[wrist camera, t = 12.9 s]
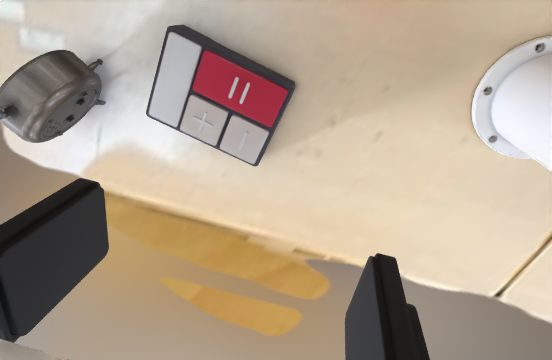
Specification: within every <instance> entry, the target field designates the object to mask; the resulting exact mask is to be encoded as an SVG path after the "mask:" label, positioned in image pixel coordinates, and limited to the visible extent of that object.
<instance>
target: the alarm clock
mask: <svg viewBox="0 0 552 360" xmlns="http://www.w3.org/2000/svg"><path fill="white" fill-rule="evenodd" d="M102 63H103V62H102V60H101V59H98V60H97V61H96V62H93V63H91V64H90V65H89V66H87V65H86V64H85V63H84V62H83V61H82V60H81V59H79V58H78V57H77V56H76V55H75V54H74V53H73V52H71V51H67V50H56V51H51V52H48V53H45V54H43V55H40V56H38V57H36V58H34V59H33V60H31V61H29V62H28V63H26V64H25V65H23V66H22V67H20V68H19V69H18V70H17V71H16V72H14V73H13V74H12V75H11V76H10V77H9V78H8V79H7V80H6V81H5V82H4V83H3V84H2V86H1V87H0V122H1V123H3V124H4V125H5V126H7V127H8V128H9V129H10V130H12V131H13V132H14V133H16V134H17V135H18V136H19V137H21V138H22V139H23V140H25V141H27V142H31V143H41V142H45V141H48V140H51V139H53V138H55V137H57V136H61V135H63V133H64V132H66V131H67V130H68V129H70V128H71V127H72V126H74V125H75V124H76V123H77V122H78V121H79V120H81V119H82V118H83V117H84V116H85V115H86V113H87V112H88V111H89V110H90V109H91V108H92V107H93V106H94V105H104V104H105V103H106V102H105V101H100V100H97V99H98V97H99V94H100V92H101V87H102V86H101V80H100V77H99V76H98V75H97V74H96V73H95V72H94V71H93V70H94V69H95V68H96V67H97V66H98V65H99V64H100V65H101V64H102Z"/></svg>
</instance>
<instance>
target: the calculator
mask: <svg viewBox="0 0 552 360" xmlns="http://www.w3.org/2000/svg"><path fill="white" fill-rule="evenodd" d="M295 86H296V84H295V82H294V81H292V80H290V79H288V78H286V77H284V76H282V75H280V74H278V73H276V72H274V71H272V70H270V69H268V68H266V67H264V66H262V65H260V64H258V63H256V62H254V61H252V60H250V59H248V58H246V57H244V56H242V55H240V54H238V53H236V52H234V51H232V50H230V49H228V48H226V47H224V46H222V45H220V44H218V43H216V42H215V41H213V40H212V39H210V38H208V37H206V36H204V35H202V34H200V33H198V32H196V31H194V30H192V29H190V28H188V27H186V26H184V25H176V26H169V27H168V28H167V31H166V35H165V39H164V43H163V47H162V51H161V55H160V59H159V63H158V67H157V71H156V75H155V79H154V83H153V87H152V91H151V95H150V98H149V102H148V106H147V110H146V114H147V116H148V117H150V118H152V119H154V120H156V121H159V122H161V123H163V124H165V125H167V126H169V127H171V128H174V129H176V130H178V131H180V132H182V133H184V134H186V135H188V136H191V137H193V138H195V139H197V140H199V141H201V142H203V143H205V144H208V145H210V146H212V147H214V148H216V149H218V150H220V151H222V152H225V153H227V154H229V155H231V156H233V157H235V158H237V159H240V160H242V161H244V162H246V163H248V164H250V165H252V166H258V164H259V162H260V160H261V158H262V156H263V154H264V152H265V150H266V148H267V146H268V144H269V142H270V139H271V137H272V135H273V133H274V131H275V129H276V127H277V125H278V123H279V121H280V119H281V117H282V114H283V112H284V110H285V108H286V106H287V104H288V102H289V100H290V98H291V96H292V94H293V91H294V89H295Z"/></svg>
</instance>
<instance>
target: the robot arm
mask: <svg viewBox="0 0 552 360" xmlns="http://www.w3.org/2000/svg"><path fill="white" fill-rule="evenodd" d="M537 45H538V48H537V49H536V50H535V48H536V46H537ZM486 87H487V90H486V91H485V92H483V91H484V89H485V88H486ZM471 114H472V122H473V125H474V128H475V130H476V132H477V134H478V135H479V137H480V138H481V140H482V141H483V142H485V143H486V144H487V145H488V146H489V147H491V148H492V149H493V150H495V151H496V152H499V153H501V154H503V155H505V156H510V157H514V158H527V159H529V158H533V159H534V160H536V161H537V162H539V163H540V164H541V165H543V166H544V167H546V168H547V169H549V170H550V171H551V172H552V35H551V36H545V37H540V38H537V39H534V40H531V41H528V42H525V43H523V44H521V45H519V46H518V47H516V48H514V49H512V50H510V51H509V52H508V53H506V54H505V55H504V56H502V57H501V58H500V59H499V60H498V61H497V62H496V63H495V64H494V65H493V66H492V67H491V68H490V69H489V70H488V71H487V73H486V74H485V75H484V77H483V78H482V79H481V81H480V83H479V85H478V87H477V89H476V91H475V95H474V98H473V101H472V111H471ZM490 136H492V137H491V138H490V139H489V137H490ZM108 249H109V244H108V232H107V221H106V209H105V198H104V190H103V188H101V187H100V184H99V183H98V182H95V181H91V180H87V179H84V178H79V179H77V180H75V181H74V182H72V183H70V184H69V185H67V186H65V187H64V188H62V189H60V190H59V191H57V192H55V193H54V194H52V195H50V196H49V197H47V198H45V199H44V200H42V201H40V202H38V203H37V204H35V205H33V206H32V207H30V208H28V209H27V210H25V211H23V212H22V213H20V214H18V215H16V216H15V217H14V218H12V219H10V220H8V221H7V222H5V223H3V224H1V225H0V360H69V359H66V358H62V357H59V356H56V355H53V354H49V353H46V352H42V351H39V350H36V349H32V348H29V347H26V346H22V345H19V344H15V343H14V342H15V341H16V340H17V339H18V338H19V337H20V336H24V335H26V334H27V333H29V332H30V331H31V330H32V329H33V328H34V327H35V326H36V325H37V324H38V323H39V322H40V321H41V320H42V319H43V318H44V317H45V316H46V315H47V314H48V313H49V312H50V311H51V310H52V309H53V308H54V307H55V306H56V305H57V304H58V303H59V302H60V301H61V300H62V299H63V298H64V297H65V296H66V295H67V294H68V293H69V292H70V291H71V290H72V289H73V288H74V287H75V286H76V285H77V284H78V283H79V282H80V281H81V280H82V279H83V278H84V277H85V276H86V275H87V274H88V273H89V272H90V271H91V270H92V269H93V268H94V267H95V266H96V265H97V264H98V263H99V262H100V261H101V260H102V259H103V258H104V257H105V256H106V254H107V252H108ZM345 355H346V360H430V358H429V355H428V351H427V347H426V343H425V340H424V336H423V332H422V328H421V325H420V321H419V318H418V314H417V310H416V308H415V307H414V306H413V305H411V304H407V303H406V299H405V295H404V291H403V286H402V282H401V278H400V273H399V269H398V265H397V261H396V258H394V257H391V256H387V255H383V254H379V253H377V254H376V255H375V257H373V256H370V257H369V258H368V260H367V263H366V265H365V268H364V270H363V273H362V275H361V278H360V280H359V283H358V285H357V288H356V290H355V293H354V295H353V298H352V300H351V303H350V305H349V308H348V310H347V313H346V318H345Z"/></svg>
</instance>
